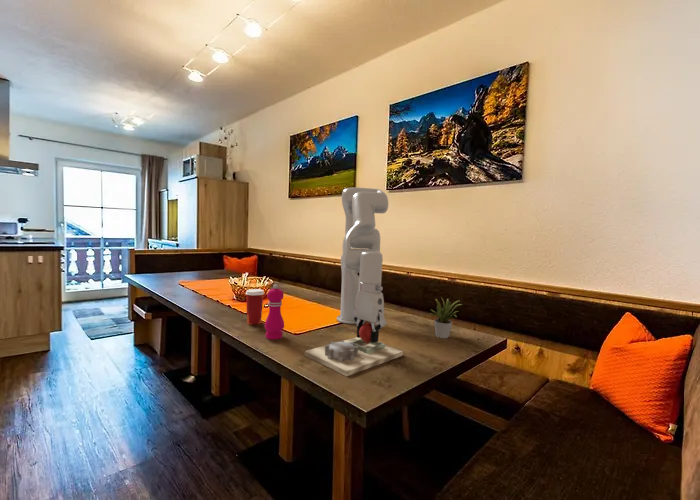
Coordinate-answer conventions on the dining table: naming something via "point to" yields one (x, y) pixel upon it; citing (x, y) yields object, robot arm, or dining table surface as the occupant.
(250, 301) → the paper cup
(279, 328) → the pepper mill
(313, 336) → the dining table surface
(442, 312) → the house plant
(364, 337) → the onion
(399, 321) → the dining table surface
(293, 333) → the dining table surface
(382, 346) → the gear board
